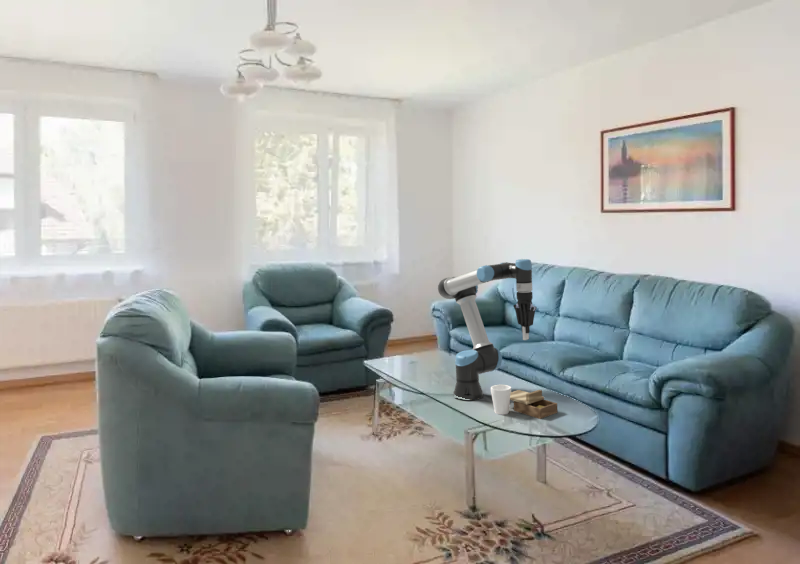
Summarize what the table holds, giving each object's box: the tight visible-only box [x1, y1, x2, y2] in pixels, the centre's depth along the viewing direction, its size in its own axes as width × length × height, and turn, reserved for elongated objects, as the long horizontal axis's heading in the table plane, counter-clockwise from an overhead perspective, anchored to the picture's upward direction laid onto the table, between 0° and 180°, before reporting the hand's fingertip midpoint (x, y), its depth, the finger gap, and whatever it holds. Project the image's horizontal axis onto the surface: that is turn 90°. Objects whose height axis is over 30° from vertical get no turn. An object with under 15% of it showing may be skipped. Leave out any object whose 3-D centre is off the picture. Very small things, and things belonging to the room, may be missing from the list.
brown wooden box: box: [513, 398, 558, 420], centre depth 281 cm, size 16×12×6 cm
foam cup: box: [490, 384, 512, 416], centre depth 282 cm, size 10×9×13 cm
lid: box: [510, 389, 545, 405], centre depth 287 cm, size 16×12×4 cm
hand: (525, 339), depth 292 cm, fingers closed
